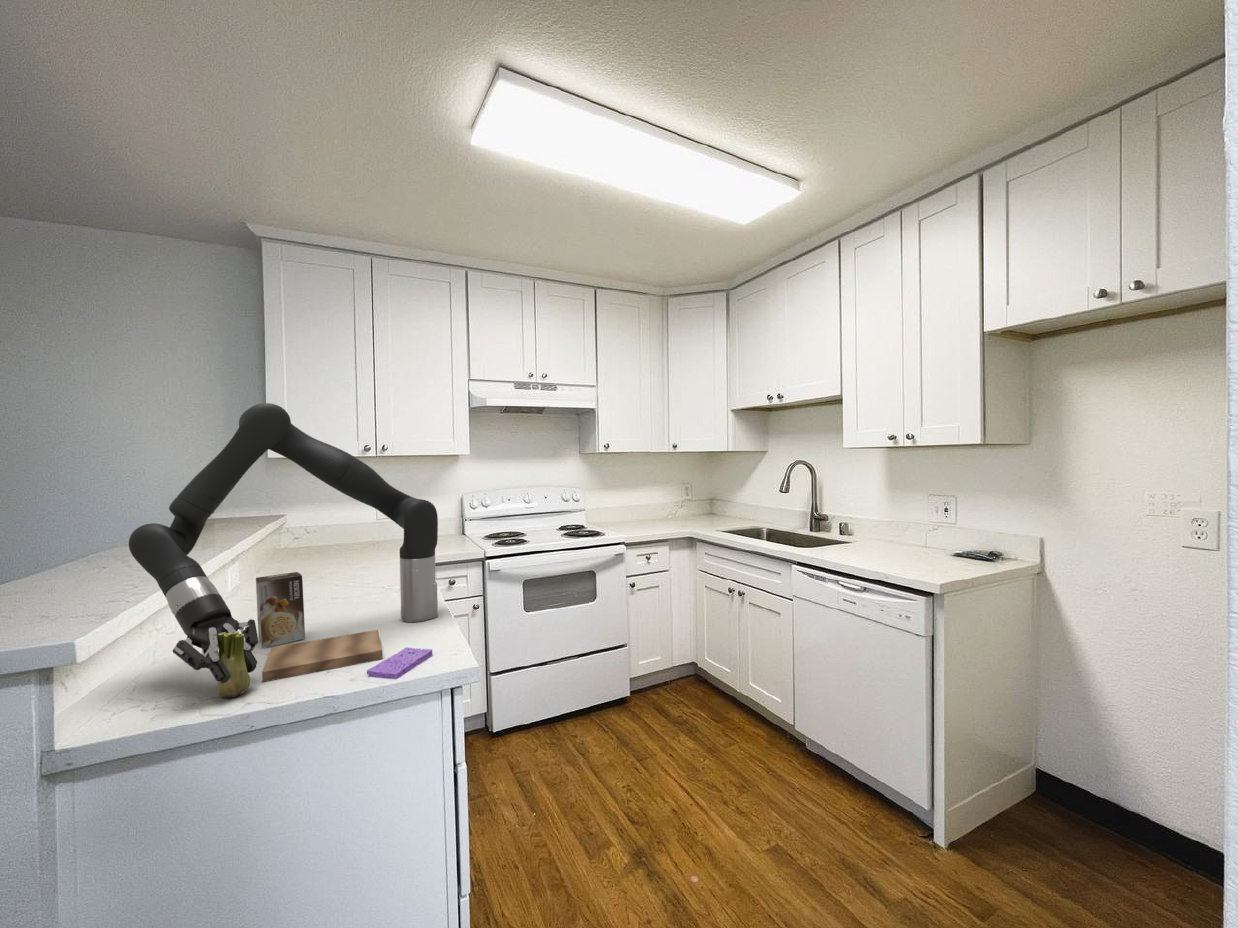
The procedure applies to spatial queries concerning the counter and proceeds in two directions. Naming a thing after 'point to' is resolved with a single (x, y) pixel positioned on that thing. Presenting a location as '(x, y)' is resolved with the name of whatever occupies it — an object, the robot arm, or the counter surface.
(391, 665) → the sponges
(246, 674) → the fennel bulb
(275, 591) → the food box
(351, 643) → the cutting board
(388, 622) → the counter surface
